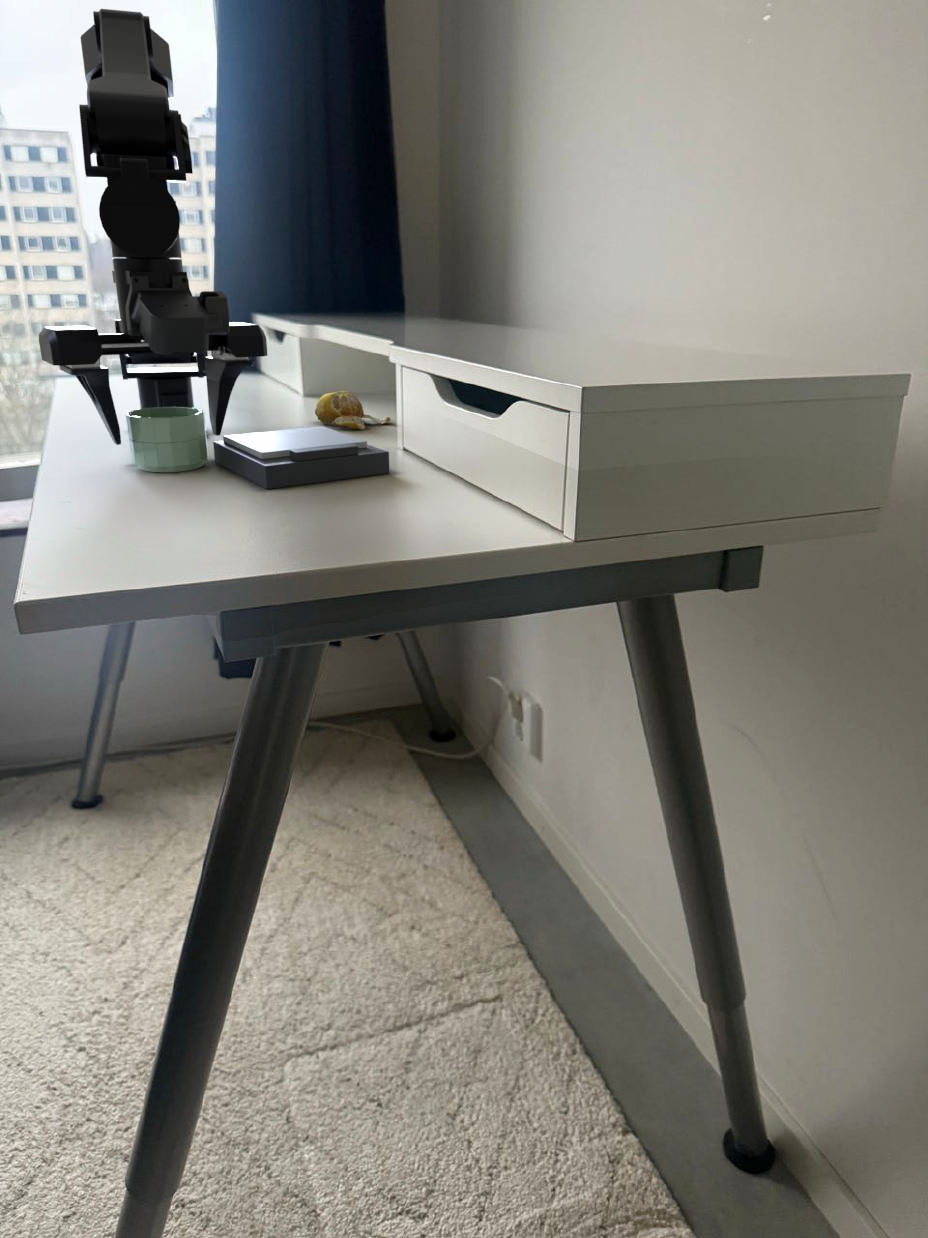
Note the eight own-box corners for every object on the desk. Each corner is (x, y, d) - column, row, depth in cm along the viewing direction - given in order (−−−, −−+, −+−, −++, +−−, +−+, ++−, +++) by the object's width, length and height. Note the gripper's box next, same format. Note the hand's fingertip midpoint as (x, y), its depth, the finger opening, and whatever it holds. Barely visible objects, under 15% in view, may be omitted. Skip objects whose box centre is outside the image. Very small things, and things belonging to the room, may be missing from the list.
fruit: (350, 431, 99) (349, 399, 98) (298, 424, 103) (296, 392, 102) (395, 422, 105) (395, 391, 104) (344, 415, 110) (343, 386, 108)
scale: (214, 462, 83) (211, 432, 82) (327, 449, 89) (326, 422, 88) (266, 489, 73) (264, 456, 72) (389, 473, 79) (389, 442, 78)
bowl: (125, 463, 82) (117, 409, 80) (195, 455, 86) (190, 404, 84) (145, 476, 77) (137, 420, 75) (219, 468, 81) (213, 414, 79)
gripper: (49, 256, 64) (82, 466, 69) (285, 260, 73) (296, 443, 79) (23, 256, 72) (55, 443, 78) (238, 260, 82) (251, 425, 88)
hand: (168, 439), depth 80 cm, fingers open, 9 cm apart
